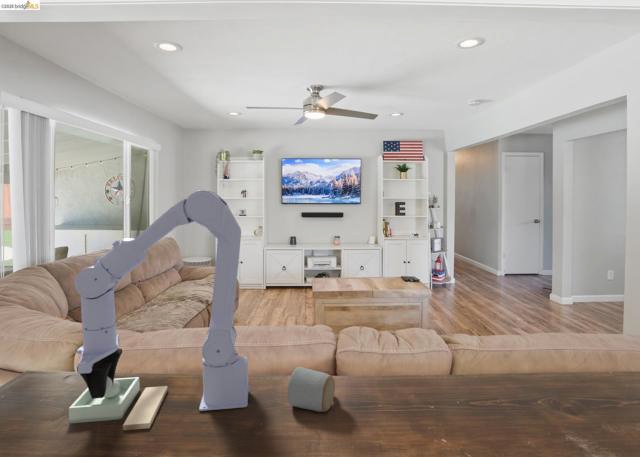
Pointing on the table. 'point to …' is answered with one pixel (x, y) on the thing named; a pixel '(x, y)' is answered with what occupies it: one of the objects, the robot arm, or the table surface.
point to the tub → (104, 403)
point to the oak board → (145, 408)
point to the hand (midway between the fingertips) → (102, 392)
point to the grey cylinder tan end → (310, 389)
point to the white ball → (113, 390)
